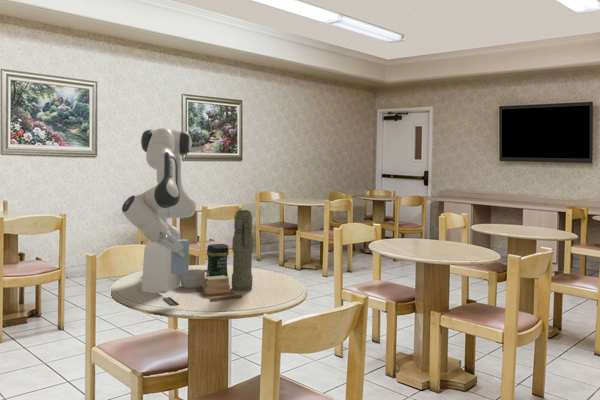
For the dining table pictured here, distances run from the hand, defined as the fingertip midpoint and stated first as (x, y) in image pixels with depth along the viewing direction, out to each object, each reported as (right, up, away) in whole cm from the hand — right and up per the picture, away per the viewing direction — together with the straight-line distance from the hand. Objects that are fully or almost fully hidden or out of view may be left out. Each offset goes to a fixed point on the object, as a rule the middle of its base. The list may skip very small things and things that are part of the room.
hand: (181, 254), depth 208 cm
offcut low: (+12, -17, +13) cm, 24 cm away
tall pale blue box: (-1, -7, 0) cm, 7 cm away
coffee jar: (+9, -17, +31) cm, 36 cm away
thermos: (+22, -18, +19) cm, 34 cm away
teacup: (+1, -17, +22) cm, 28 cm away
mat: (-1, -18, +1) cm, 18 cm away
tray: (+13, -18, +8) cm, 24 cm away
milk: (-13, -17, +18) cm, 28 cm away
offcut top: (+12, -14, +13) cm, 22 cm away
